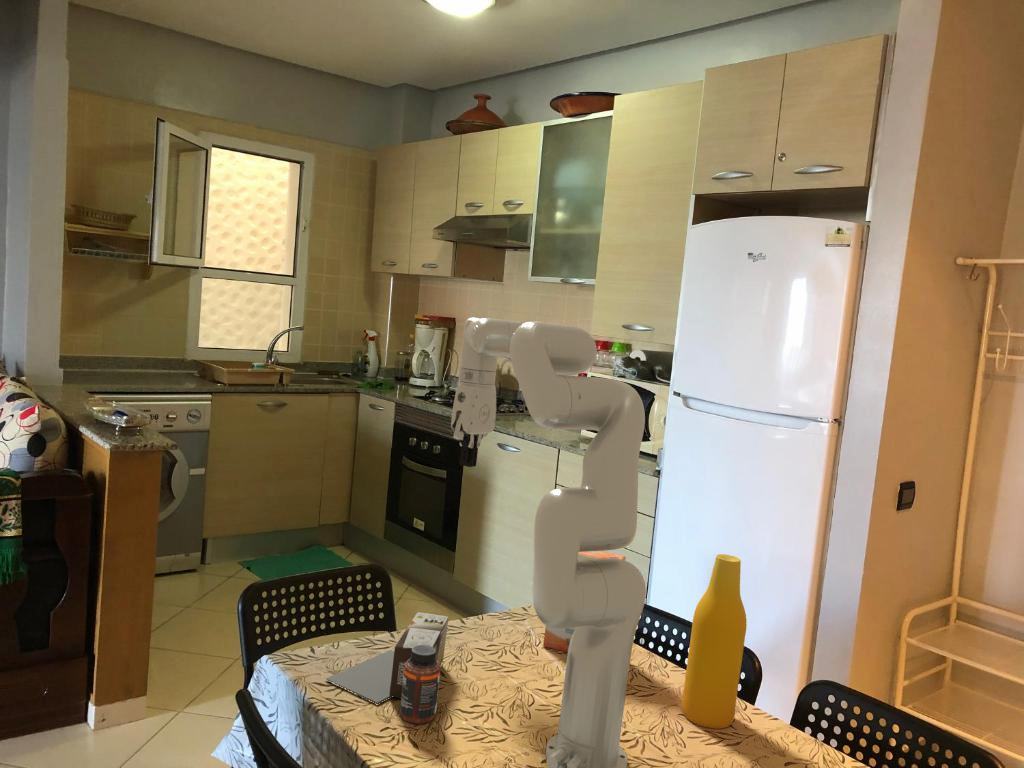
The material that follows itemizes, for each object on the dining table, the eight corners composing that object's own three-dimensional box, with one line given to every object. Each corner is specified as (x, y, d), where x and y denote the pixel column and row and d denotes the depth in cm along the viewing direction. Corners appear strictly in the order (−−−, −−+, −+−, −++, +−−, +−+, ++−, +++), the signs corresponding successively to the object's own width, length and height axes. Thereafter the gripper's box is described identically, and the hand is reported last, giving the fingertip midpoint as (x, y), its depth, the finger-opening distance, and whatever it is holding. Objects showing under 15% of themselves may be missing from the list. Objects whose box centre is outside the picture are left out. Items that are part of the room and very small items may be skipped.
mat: (377, 705, 131) (377, 702, 131) (325, 681, 138) (325, 678, 137) (439, 672, 146) (439, 670, 146) (390, 652, 152) (390, 649, 152)
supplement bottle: (442, 715, 130) (449, 649, 129) (421, 729, 125) (428, 661, 124) (414, 703, 133) (420, 638, 132) (391, 716, 128) (398, 649, 127)
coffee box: (416, 611, 149) (394, 643, 133) (449, 616, 148) (431, 649, 132) (410, 657, 150) (388, 696, 134) (443, 663, 149) (425, 702, 133)
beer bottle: (744, 727, 138) (767, 566, 136) (700, 732, 134) (722, 567, 132) (712, 701, 146) (733, 549, 144) (670, 705, 143) (691, 549, 141)
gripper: (471, 380, 154) (461, 472, 156) (511, 380, 167) (502, 465, 168) (440, 375, 158) (431, 465, 159) (482, 375, 171) (473, 459, 172)
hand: (467, 465), depth 164 cm, fingers closed
